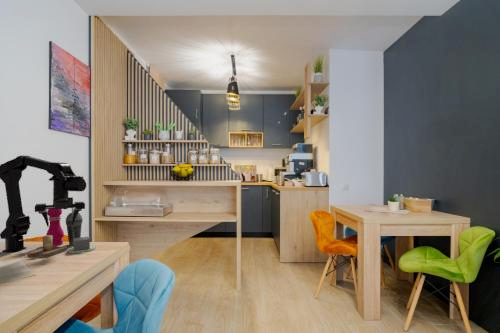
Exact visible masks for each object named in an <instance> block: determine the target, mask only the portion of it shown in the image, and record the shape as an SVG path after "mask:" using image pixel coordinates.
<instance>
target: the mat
mask: <svg viewBox="0 0 500 333" xmlns="http://www.w3.org/2000/svg"><path fill="white" fill-rule="evenodd" d="M96 248H97V247H96V245H91V244H90V249H87V250H80V251H74V247H70V248H69V249H67V253H69V254H83V253H82V252H84V253H89V252H91V251H94V250H95V249H96Z"/></svg>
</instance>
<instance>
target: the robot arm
mask: <svg viewBox="0 0 500 333" xmlns="http://www.w3.org/2000/svg"><path fill="white" fill-rule="evenodd" d="M28 167H31V168H36V169H39V170H42V171H45V172H47V173H48V174H50V175H52V176H51V177H50V178H49V179H48V181H50V182H53V183H52V184H53V185H52V186H53V188H52V196H53V197H52V204H47V203H36V204H35V205H34V212H35V213H38V214H40V215H42V218H43V219H44V221H45V224H46V227H47V228H49V226H50V221H49V216H48V214H47V211H48V209H55V210H59V209H62V210H67V209H72V208H73V217H72V225H73V224H74V221H75V218H76V216H77V214H78V213H79V212H81V211H83V210H85V209H86V203H85V202H84V201H74V197H73V196H72V197H71V196H70V197H69V192H84V191H85V190H86V188H87V182H86V180H85V179H84V176H83V175H76V174H75V172H74V171H73V169H72V167H71V165H70V163H68V162H67V163H66V162H55V161H54V162H53V161H48V160H44V159H40V158H38V157H37V158H36V157H33V156H30V155H18V156H16V157H15V158H13V159H10V160H7V161H5V162H4V163H2V164H0V180H1V181H2V182H3V183H4V186H5V194H6V200H7V202H6V203H7V208H8V217H7V218H6V221H5V228H4V229H3V230H2V231H1V232H0V239H2V240H5V243H4V244H5V246H4V247H5V249H2V250H1V252H3V253H4V252H7V253H14V252H17V251H18V252H19V251H22V250H24V249H27V246H24V245H25V243H24V242H25V241H24V240H25V239H24V236H26V235H27V234H28V231H29V229H30V227H31V226H30V225H32V223H31V220H30V219H31V218H30V216H29V215H25V213H24V211H23V203H22V196H21V190H20V180H21V178H22V177H23V171H25V170H26V169H27V168H28Z"/></svg>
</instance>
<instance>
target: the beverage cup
mask: <svg viewBox="0 0 500 333" xmlns="http://www.w3.org/2000/svg"><path fill="white" fill-rule="evenodd" d="M73 209H74V208H71V212H70V213H68V215H67V216H66V217H65V225H66V231H67V239H68V240H67V242H68V245H69V246H74V244H73V238H81V234H82V224H83V216H82V214H81V213H79V212H78V214H77V216H76V218H75V221H74V224H73V225H72V217H73Z"/></svg>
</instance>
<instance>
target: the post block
mask: <svg viewBox="0 0 500 333" xmlns="http://www.w3.org/2000/svg"><path fill="white" fill-rule="evenodd" d="M63 252H68V247H67V246H53V235H47V236H46V235H43V236H42V248H38V249H36V250H32V251H29V252H27V257H34V258H50V257H53V256H55V255H58V254H62V253H63Z"/></svg>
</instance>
